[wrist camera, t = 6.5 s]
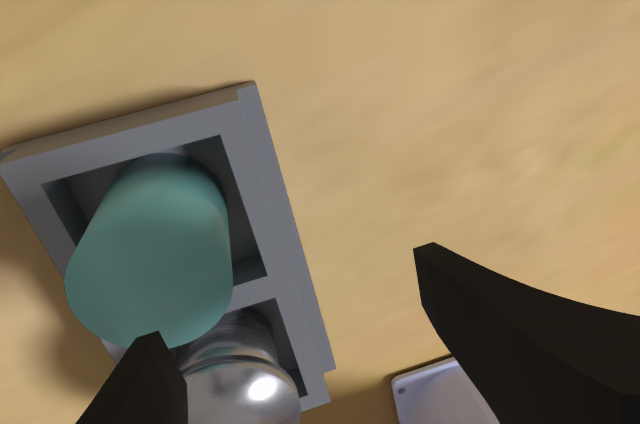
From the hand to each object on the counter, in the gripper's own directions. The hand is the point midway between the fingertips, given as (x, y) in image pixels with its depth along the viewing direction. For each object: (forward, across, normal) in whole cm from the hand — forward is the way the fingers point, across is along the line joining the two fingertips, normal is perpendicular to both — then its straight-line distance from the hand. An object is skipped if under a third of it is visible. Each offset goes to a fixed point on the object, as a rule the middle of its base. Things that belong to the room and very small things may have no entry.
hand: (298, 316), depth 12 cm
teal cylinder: (+8, +4, -1) cm, 9 cm away
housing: (+9, +4, +3) cm, 11 cm away
